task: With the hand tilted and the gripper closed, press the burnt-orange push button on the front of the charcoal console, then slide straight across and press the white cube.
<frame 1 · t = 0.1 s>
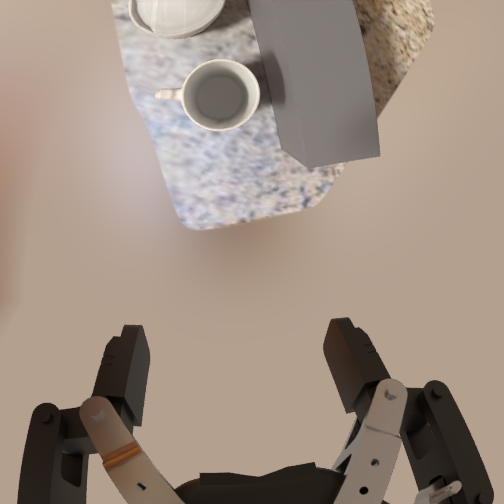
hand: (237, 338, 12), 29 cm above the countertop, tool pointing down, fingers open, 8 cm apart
mug: (206, 97, 32), on the countertop
console: (294, 66, 31), on the countertop
ramekin: (181, 9, 25), on the countertop
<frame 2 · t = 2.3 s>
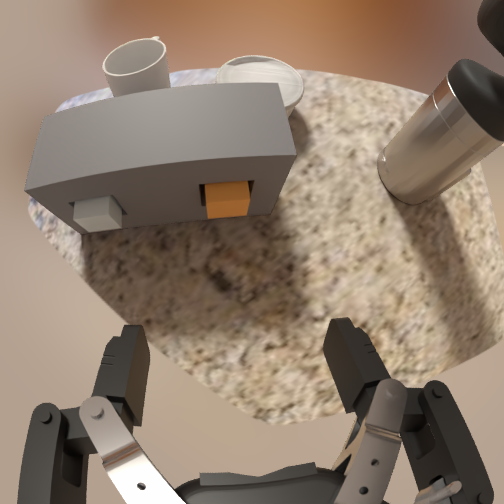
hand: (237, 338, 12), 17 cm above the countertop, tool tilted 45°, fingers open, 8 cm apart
mug: (156, 116, 34), on the countertop
console: (169, 190, 31), on the countertop
orange button: (225, 191, 25), point 6 cm above the countertop, slide at 0.0 cm
white cube: (98, 206, 24), point 6 cm above the countertop, slide at 0.0 cm
ramekin: (255, 106, 36), on the countertop
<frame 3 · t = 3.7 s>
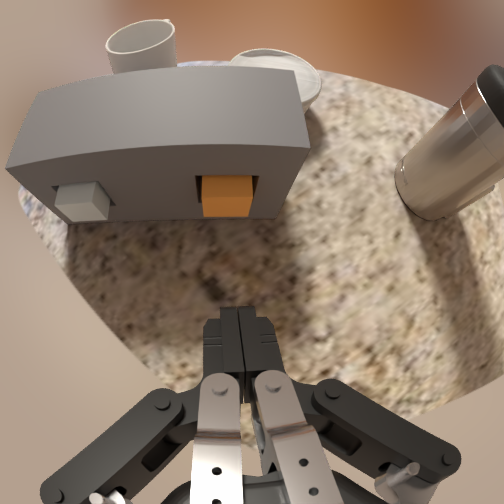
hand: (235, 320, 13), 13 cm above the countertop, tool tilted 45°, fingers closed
mug: (161, 105, 31), on the countertop
console: (166, 184, 28), on the countertop
orange button: (226, 187, 22), point 6 cm above the countertop, slide at 0.0 cm
white cube: (84, 193, 20), point 6 cm above the countertop, slide at 0.0 cm
ramekin: (268, 102, 33), on the countertop
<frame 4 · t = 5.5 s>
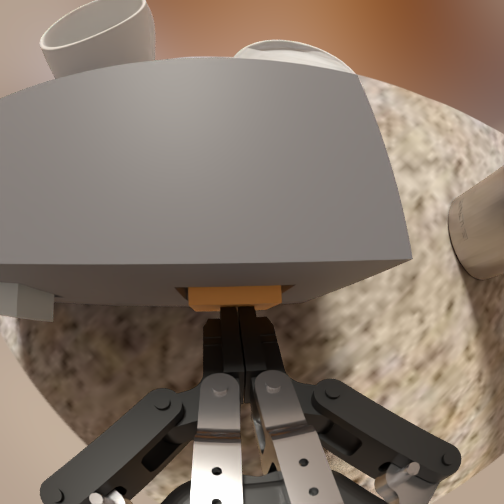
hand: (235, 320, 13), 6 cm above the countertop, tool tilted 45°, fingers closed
mug: (136, 120, 22), on the countertop
console: (140, 247, 19), on the countertop
orange button: (231, 269, 13), point 6 cm above the countertop, slide at 0.9 cm, touching gripper
white cube: (15, 284, 11), point 6 cm above the countertop, slide at 0.0 cm
ramekin: (287, 116, 24), on the countertop
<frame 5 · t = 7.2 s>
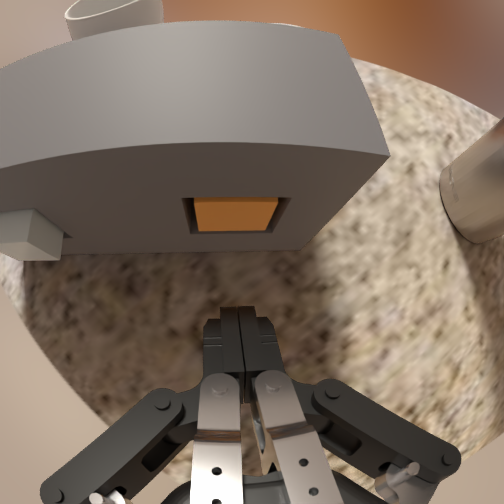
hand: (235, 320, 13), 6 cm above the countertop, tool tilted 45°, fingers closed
mug: (144, 94, 23), on the countertop
console: (146, 200, 20), on the countertop
orange button: (233, 186, 14), point 6 cm above the countertop, slide at 1.5 cm, touching console
white cube: (27, 222, 12), point 6 cm above the countertop, slide at 0.0 cm
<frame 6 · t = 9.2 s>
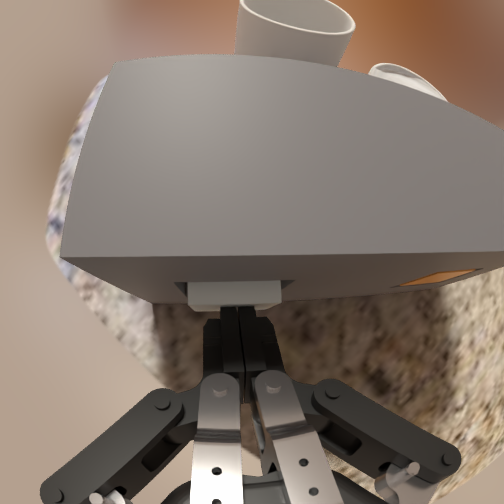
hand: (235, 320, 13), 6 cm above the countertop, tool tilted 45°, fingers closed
mug: (270, 116, 23), on the countertop
console: (310, 243, 20), on the countertop
orange button: (433, 250, 15), point 6 cm above the countertop, slide at 1.5 cm, touching console
white cube: (231, 269, 13), point 6 cm above the countertop, slide at 0.7 cm, touching gripper
ramekin: (395, 132, 25), on the countertop
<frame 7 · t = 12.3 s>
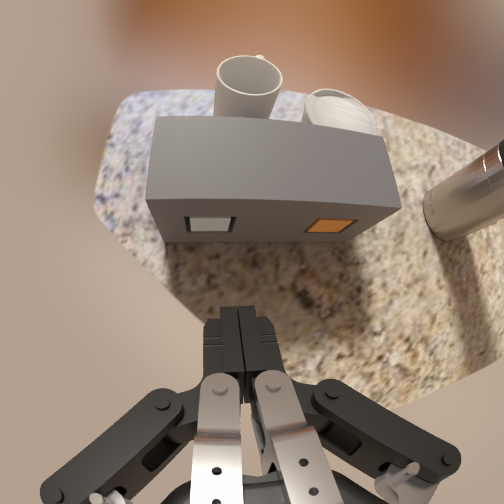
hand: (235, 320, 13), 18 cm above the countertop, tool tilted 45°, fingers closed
mug: (239, 131, 37), on the countertop
console: (258, 210, 34), on the countertop
orange button: (327, 210, 29), point 6 cm above the countertop, slide at 1.5 cm, touching console
white cube: (209, 207, 27), point 6 cm above the countertop, slide at 1.5 cm, touching console
ramekin: (329, 137, 39), on the countertop
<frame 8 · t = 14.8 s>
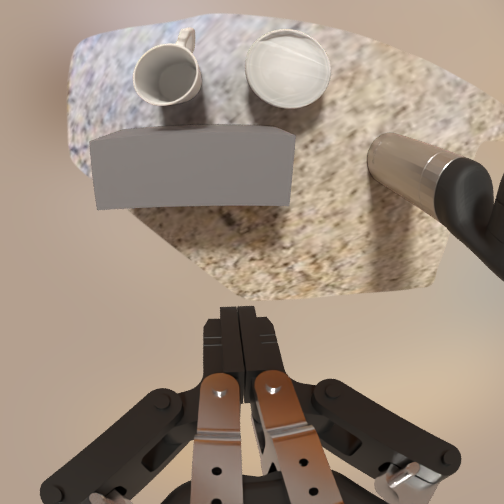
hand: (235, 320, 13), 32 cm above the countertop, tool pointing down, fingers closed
mug: (183, 72, 33), on the countertop
console: (196, 151, 39), on the countertop
ramekin: (280, 71, 34), on the countertop
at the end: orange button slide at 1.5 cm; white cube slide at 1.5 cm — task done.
